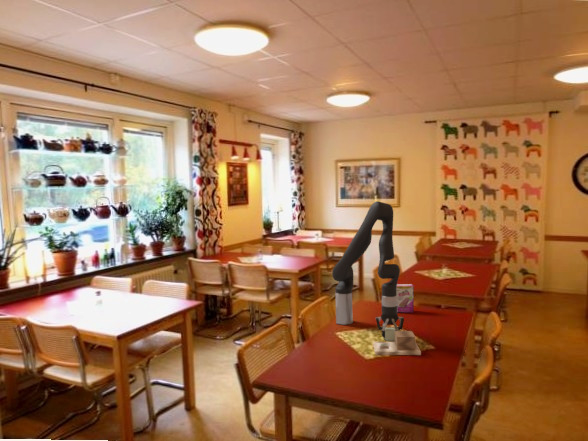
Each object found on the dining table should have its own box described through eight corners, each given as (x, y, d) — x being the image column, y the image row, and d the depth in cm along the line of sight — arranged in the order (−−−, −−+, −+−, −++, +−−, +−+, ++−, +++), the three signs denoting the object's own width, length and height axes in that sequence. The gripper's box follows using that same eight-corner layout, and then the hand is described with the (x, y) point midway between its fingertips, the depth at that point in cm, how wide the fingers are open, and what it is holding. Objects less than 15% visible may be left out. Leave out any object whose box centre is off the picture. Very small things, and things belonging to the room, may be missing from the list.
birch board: (375, 354, 186) (375, 351, 186) (373, 344, 198) (373, 341, 198) (420, 355, 184) (420, 351, 184) (415, 344, 196) (415, 341, 196)
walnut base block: (397, 349, 187) (397, 336, 187) (394, 343, 195) (394, 330, 195) (415, 349, 186) (415, 336, 186) (412, 343, 194) (412, 330, 194)
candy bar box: (395, 312, 248) (394, 285, 246) (393, 310, 253) (393, 284, 251) (414, 312, 246) (413, 285, 245) (412, 310, 251) (412, 283, 250)
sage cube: (385, 340, 203) (385, 330, 203) (384, 337, 208) (384, 327, 208) (395, 340, 203) (395, 331, 202) (394, 337, 208) (394, 327, 207)
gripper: (403, 302, 207) (403, 335, 208) (374, 302, 209) (374, 335, 210) (405, 306, 200) (406, 340, 201) (375, 306, 201) (376, 340, 202)
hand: (390, 337), depth 205 cm, fingers open, 5 cm apart
